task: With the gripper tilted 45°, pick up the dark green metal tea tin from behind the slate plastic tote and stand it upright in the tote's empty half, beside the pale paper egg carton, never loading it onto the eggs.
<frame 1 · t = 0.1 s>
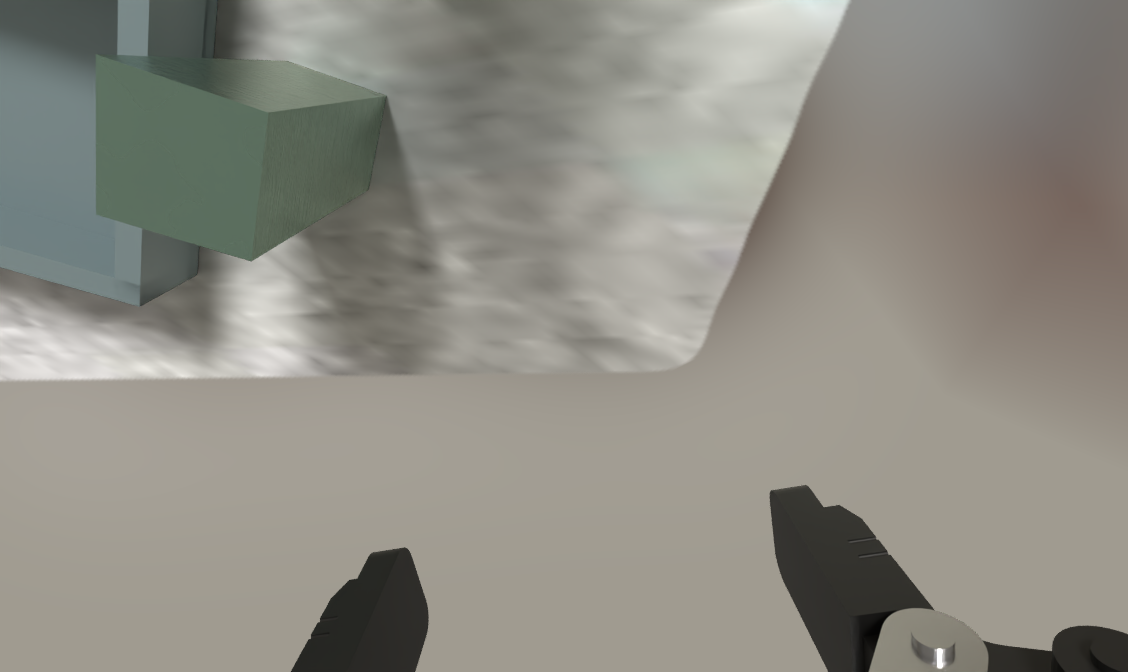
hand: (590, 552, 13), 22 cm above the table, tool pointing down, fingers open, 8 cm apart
tea tin: (329, 128, 30), on the table
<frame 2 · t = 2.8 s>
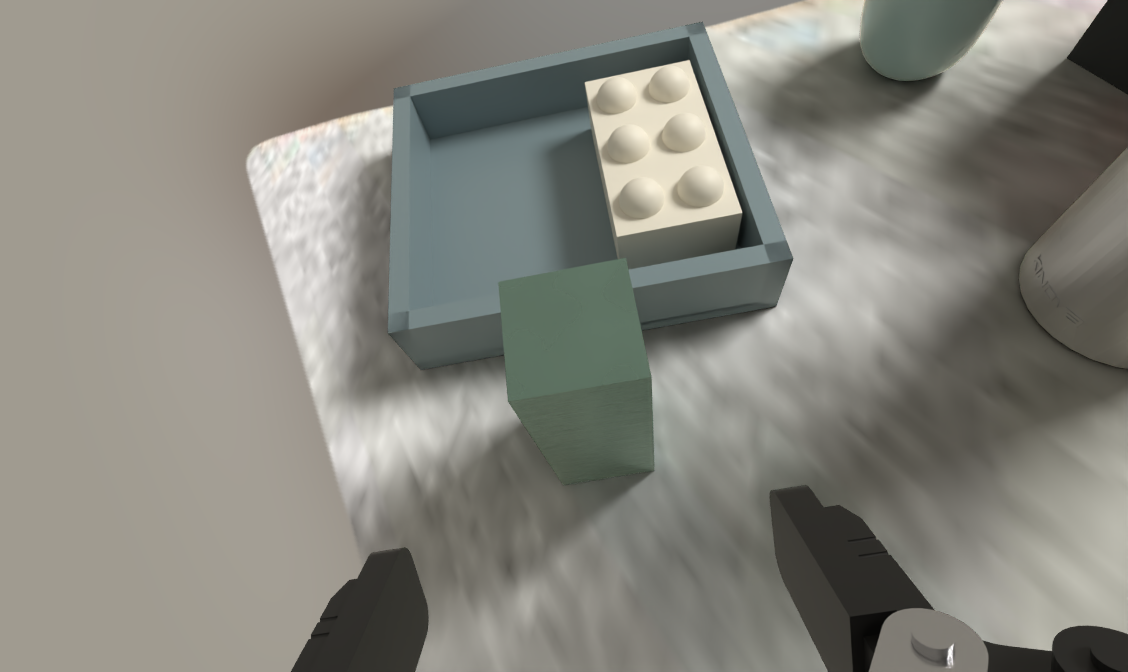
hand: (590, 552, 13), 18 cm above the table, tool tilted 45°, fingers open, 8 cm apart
tote: (573, 212, 40), on the table
egg carton: (656, 196, 39), resting on tote
tea tin: (601, 434, 32), on the table
cup: (902, 62, 42), on the table
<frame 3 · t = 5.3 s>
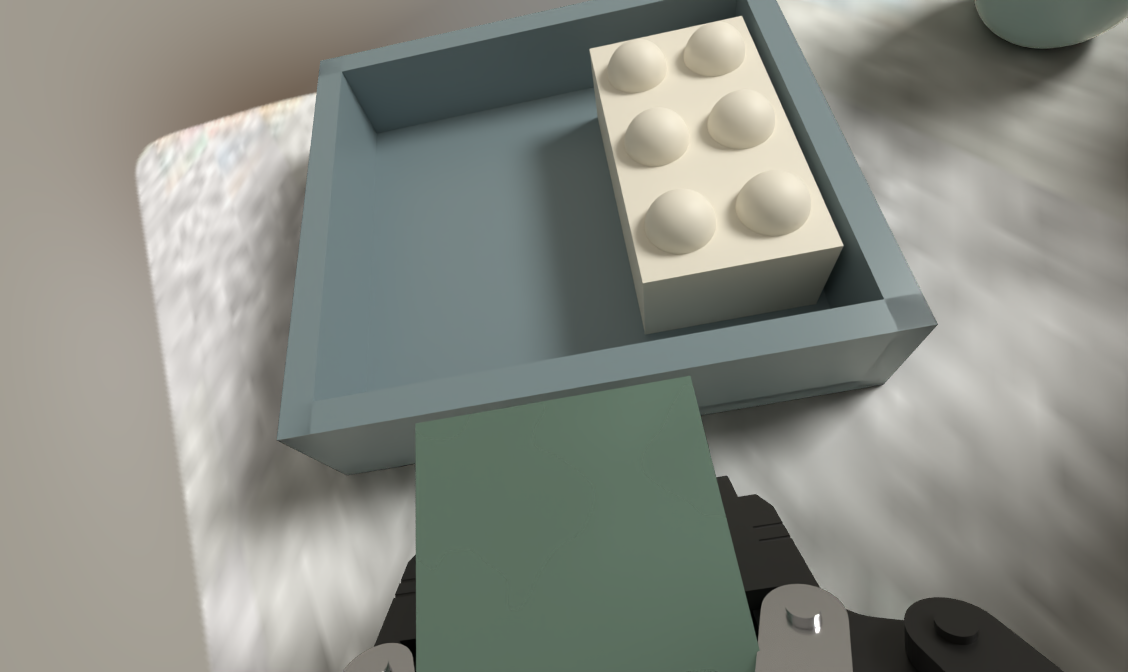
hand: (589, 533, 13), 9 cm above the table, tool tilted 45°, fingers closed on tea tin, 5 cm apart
tote: (573, 235, 28), on the table
egg carton: (692, 212, 28), resting on tote
tea tin: (619, 594, 20), on the table, touching gripper
cup: (1031, 24, 30), on the table
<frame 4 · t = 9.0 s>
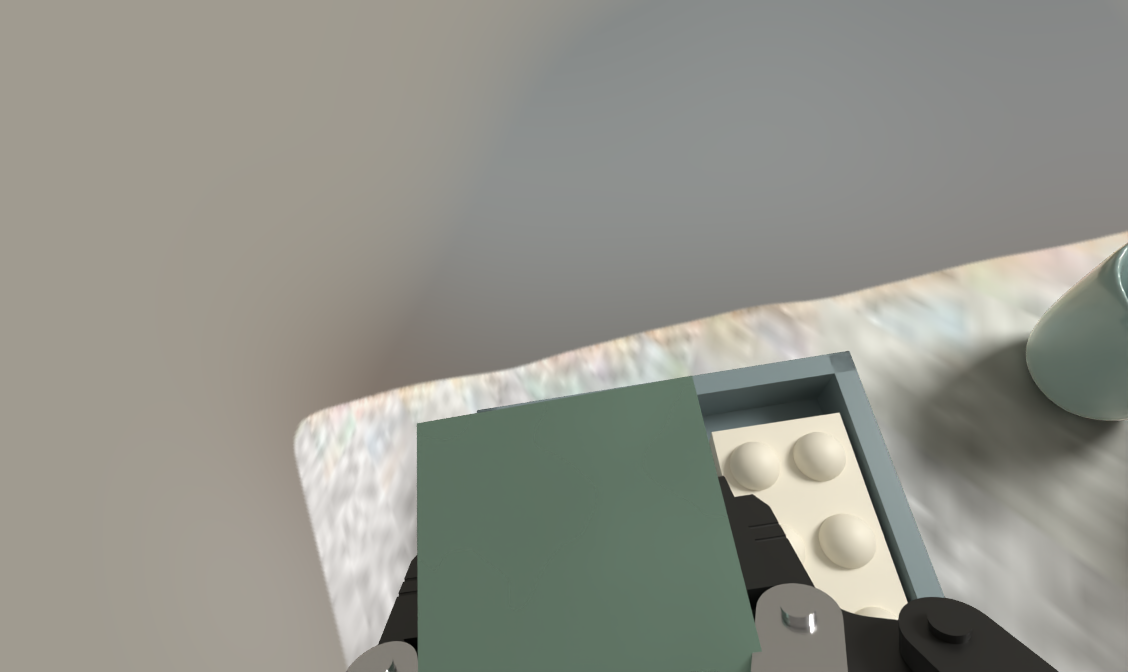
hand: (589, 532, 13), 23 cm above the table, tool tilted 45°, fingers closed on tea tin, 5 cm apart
tote: (690, 570, 34), on the table
egg carton: (791, 556, 33), resting on tote
tea tin: (620, 594, 20), point 14 cm above the table, touching gripper
cup: (1073, 377, 36), on the table
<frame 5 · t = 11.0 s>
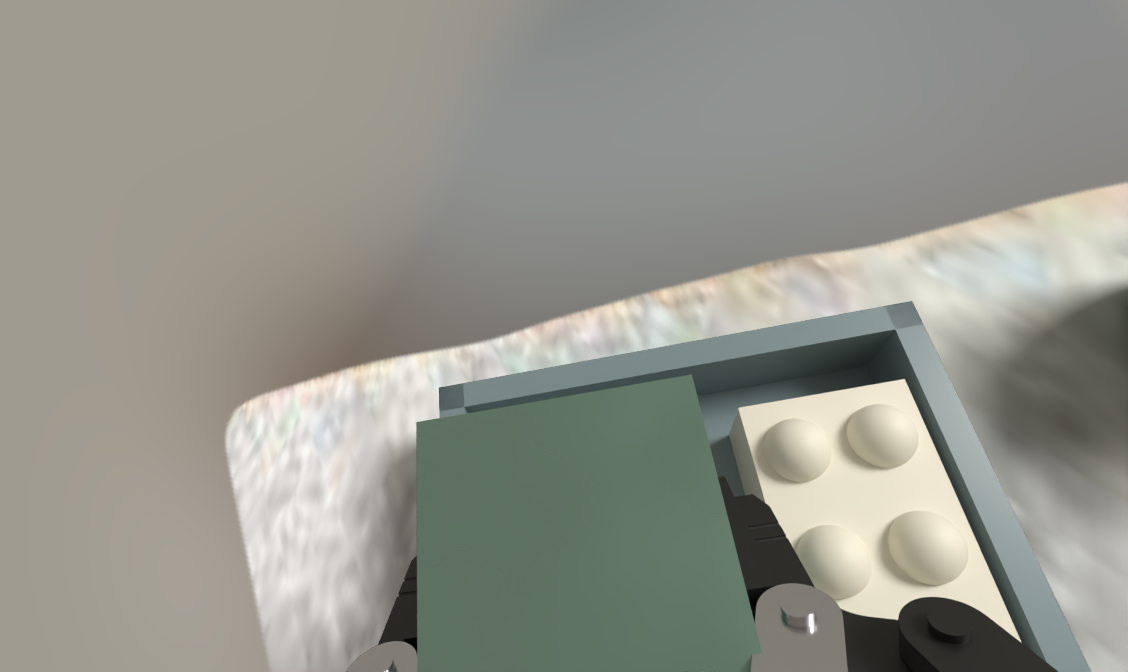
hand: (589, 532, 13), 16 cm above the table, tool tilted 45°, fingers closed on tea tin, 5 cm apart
tote: (713, 585, 26), on the table
egg carton: (842, 566, 26), resting on tote
tea tin: (619, 593, 20), point 7 cm above the table, touching gripper
when the fingers open (11 cm above the table, at t = 12.6 s): tea tin drops 1 cm, resting on tote.
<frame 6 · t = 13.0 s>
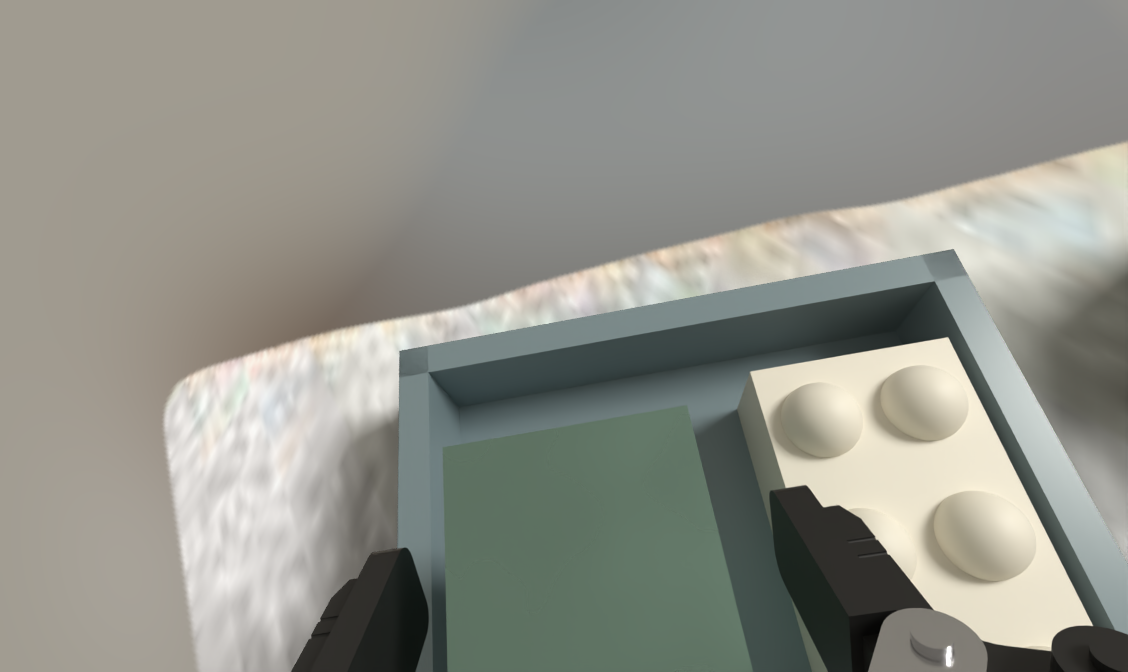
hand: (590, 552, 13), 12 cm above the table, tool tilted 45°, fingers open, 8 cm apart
tote: (719, 583, 22), on the table
egg carton: (870, 561, 22), resting on tote
tea tin: (622, 603, 22), point 1 cm above the table, touching tote
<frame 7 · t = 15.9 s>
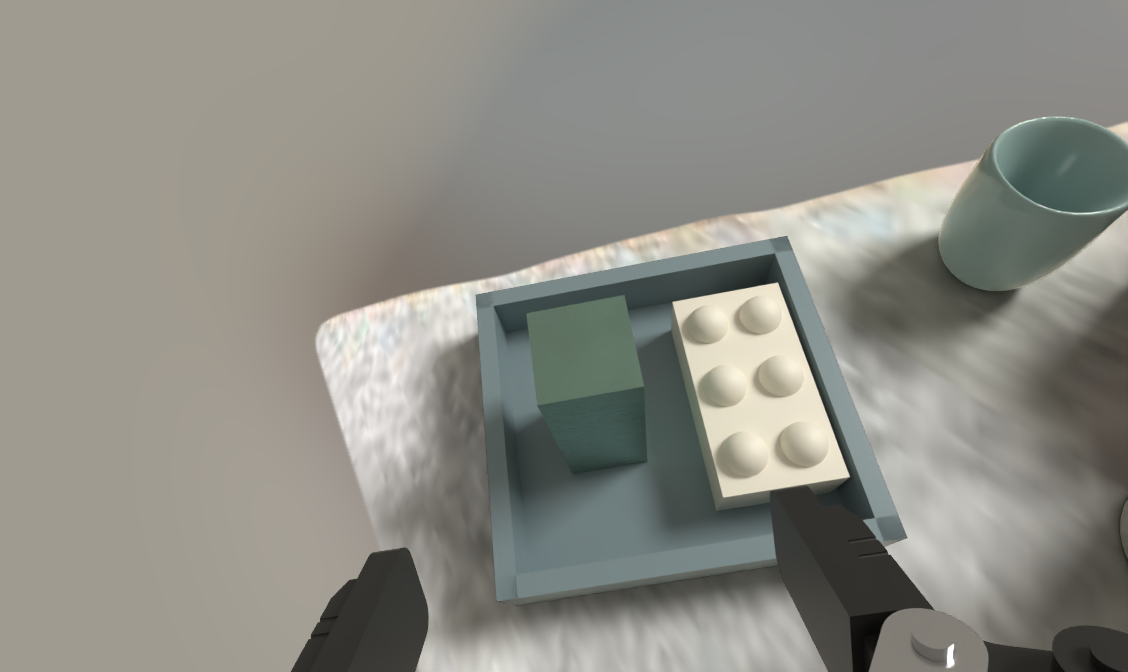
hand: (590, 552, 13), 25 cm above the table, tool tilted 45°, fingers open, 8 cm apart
tote: (658, 423, 40), on the table
egg carton: (741, 409, 39), resting on tote
tea tin: (603, 432, 39), point 1 cm above the table, touching tote
cup: (979, 263, 42), on the table
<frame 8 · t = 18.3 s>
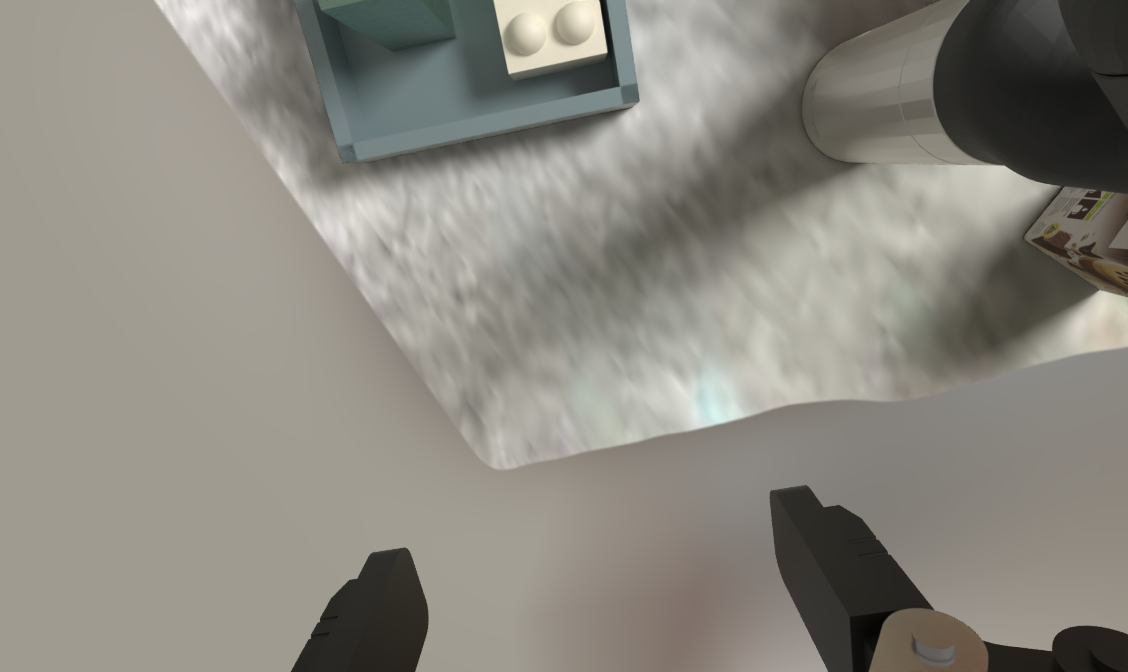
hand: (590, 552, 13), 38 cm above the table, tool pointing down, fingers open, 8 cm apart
tea tin: (415, 8, 43), point 1 cm above the table, touching tote
coffee box: (1085, 233, 48), on the table
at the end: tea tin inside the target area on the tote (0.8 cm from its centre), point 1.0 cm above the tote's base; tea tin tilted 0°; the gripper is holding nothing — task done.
